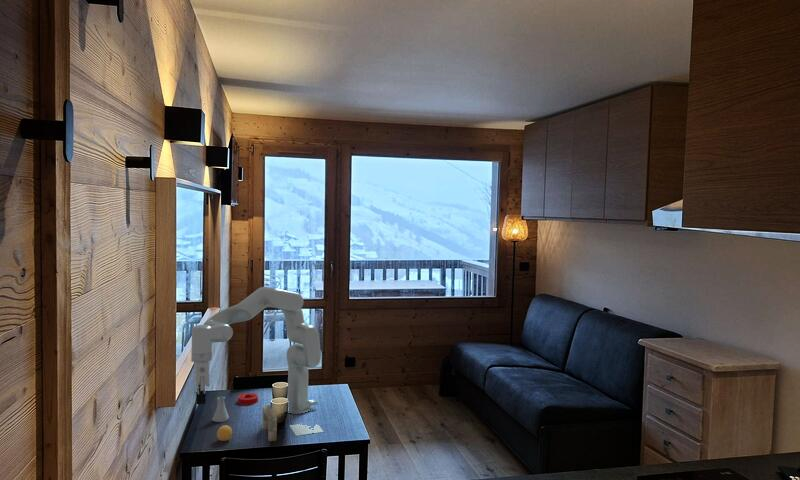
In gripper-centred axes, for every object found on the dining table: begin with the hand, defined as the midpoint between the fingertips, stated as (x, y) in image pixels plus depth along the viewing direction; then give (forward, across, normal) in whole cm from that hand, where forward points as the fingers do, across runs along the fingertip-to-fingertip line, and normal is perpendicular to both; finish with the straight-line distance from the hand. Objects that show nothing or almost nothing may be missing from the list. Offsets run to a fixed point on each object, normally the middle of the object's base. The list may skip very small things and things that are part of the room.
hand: (200, 402), depth 206 cm
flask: (+17, +25, -10) cm, 32 cm away
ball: (+14, +1, -10) cm, 17 cm away
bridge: (+17, +1, -28) cm, 32 cm away
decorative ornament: (+18, +45, -26) cm, 55 cm away
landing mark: (+17, +1, -44) cm, 47 cm away
